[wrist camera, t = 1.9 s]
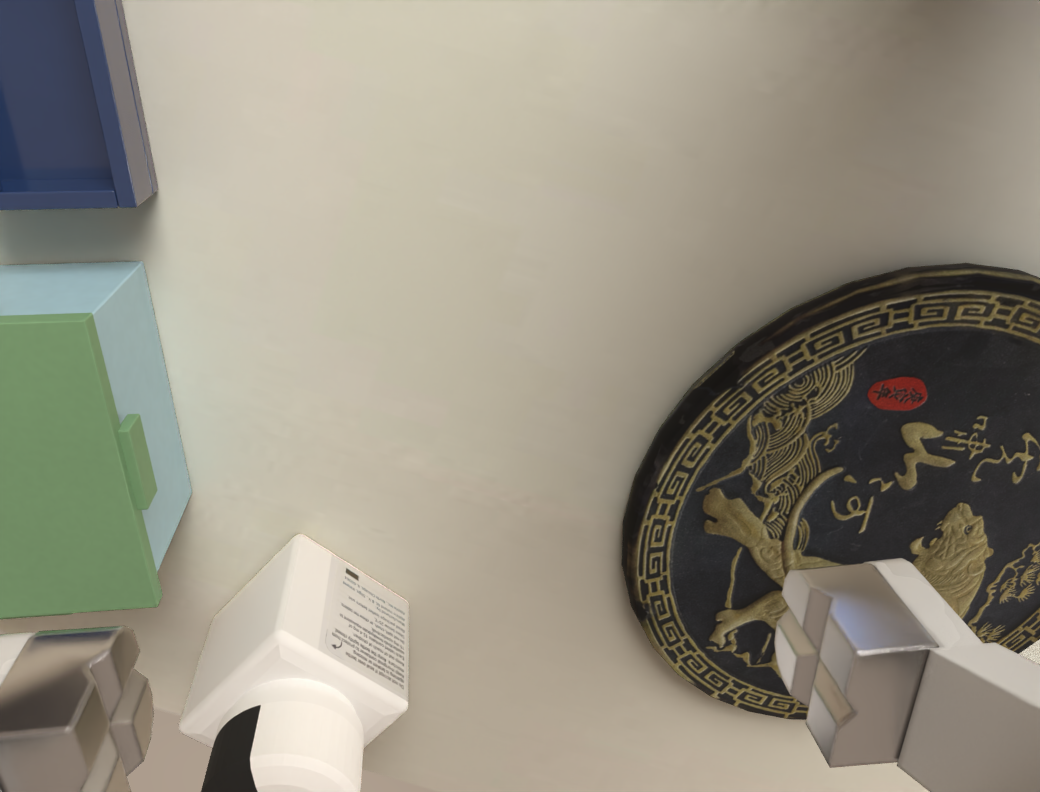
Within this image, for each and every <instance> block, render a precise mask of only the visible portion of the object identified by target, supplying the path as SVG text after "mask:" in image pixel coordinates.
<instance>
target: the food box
mask: <svg viewBox="0 0 1040 792" xmlns="http://www.w3.org/2000/svg"><path fill="white" fill-rule="evenodd" d="M191 494H192V489H191V485H190V480H189V475H188V470H187V466H186V461H185V456H184V452H183V447H182V442H181V437H180V433H179V428H178V423H177V419H176V414H175V409H174V404H173V400H172V395H171V390H170V386H169V381H168V376H167V371H166V367H165V362H164V357H163V353H162V348H161V343H160V338H159V334H158V329H157V324H156V320H155V315H154V310H153V305H152V301H151V296H150V291H149V287H148V282H147V277H146V272H145V268H144V263H143V262H142V261H133V262H96V263H60V264H24V265H0V619H11V618H26V617H40V616H54V615H68V614H73V613H81V612H95V611H109V610H124V609H138V608H152V607H158V605H159V602H160V600H161V597H162V595H163V594H162V590H161V586H160V582H159V578H158V574H157V572H158V570H159V567H160V565H161V563H162V560H163V558H164V556H165V554H166V551H167V549H168V547H169V544H170V542H171V540H172V537H173V535H174V533H175V531H176V528H177V526H178V524H179V521H180V519H181V517H182V514H183V512H184V510H185V508H186V505H187V503H188V501H189V498H190V496H191Z"/></svg>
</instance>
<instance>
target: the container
mask: <svg viewBox="0 0 1040 792" xmlns="http://www.w3.org/2000/svg"><path fill="white" fill-rule="evenodd" d="M408 688H409V603H408V601H407V600H406V599H404V598H402V597H401V596H399V595H398V594H396V593H395V592H393V591H392V590H390V589H388V588H387V587H385V586H384V585H382V584H381V583H379V582H377V581H376V580H374V579H373V578H371V577H370V576H368V575H366V574H365V573H363V572H362V571H360V570H359V569H357V568H356V567H354V566H352V565H351V564H349V563H348V562H346V561H345V560H343V559H341V558H340V557H338V556H337V555H335V554H334V553H332V552H331V551H329V550H327V549H326V548H324V547H323V546H321V545H320V544H318V543H316V542H315V541H313V540H312V539H310V538H309V537H307V536H305V535H303V534H297V535H295V536H294V537H293V538H292V539H291V540H290V541H289V542H288V543H287V544H286V545H285V546H284V547H283V548H282V549H281V550H280V551H279V552H278V553H277V554H276V555H275V556H274V557H273V558H272V559H271V560H270V561H269V562H268V563H267V564H266V565H265V566H264V567H263V568H262V569H261V570H260V571H259V572H258V573H257V574H256V575H255V576H254V577H253V578H252V579H251V580H250V581H249V582H248V583H247V584H246V585H245V586H244V587H243V588H242V589H241V590H240V591H239V592H238V593H237V594H236V595H235V596H234V597H233V598H232V599H231V600H230V601H229V602H228V603H227V604H226V605H225V606H224V607H223V608H222V609H221V610H220V611H219V612H218V613H217V614H216V615H215V616H214V618H213V619H212V621H211V624H210V628H209V631H208V634H207V637H206V640H205V643H204V646H203V650H202V653H201V656H200V659H199V662H198V665H197V669H196V672H195V675H194V678H193V681H192V684H191V687H190V691H189V694H188V697H187V700H186V703H185V706H184V710H183V713H182V716H181V719H180V722H179V731H180V732H181V733H183V734H184V735H186V736H188V737H190V738H192V739H194V740H196V741H198V742H200V743H203V744H205V745H206V746H209V747H211V748H213V749H212V752H211V756H210V760H209V764H208V767H207V771H206V775H205V779H204V783H203V786H202V791H201V792H361V777H362V762H363V748H364V747H365V746H367V745H368V744H369V743H370V742H371V741H372V740H373V739H375V738H376V737H377V736H378V735H379V734H380V733H382V732H383V731H384V730H385V729H386V728H387V727H388V726H390V725H391V724H392V723H393V722H394V721H395V720H397V719H398V718H399V717H400V716H401V715H402V714H403V713H405V712H406V710H407V708H408Z"/></svg>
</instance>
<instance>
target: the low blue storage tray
mask: <svg viewBox="0 0 1040 792" xmlns="http://www.w3.org/2000/svg"><path fill="white" fill-rule="evenodd" d="M157 190H158V186H157V181H156V176H155V170H154V165H153V160H152V155H151V150H150V145H149V140H148V135H147V129H146V124H145V119H144V114H143V109H142V104H141V99H140V94H139V88H138V83H137V78H136V73H135V68H134V63H133V58H132V53H131V47H130V42H129V37H128V32H127V27H126V22H125V17H124V12H123V6H122V1H121V0H0V211H2V210H50V209H98V208H118V207H120V208H136V207H138V206H139V205H140V204H141V203H143V202H144V201H145V200H146V199H148V198H149V197H150V196H151V195H152V194H154V193H155V192H156V191H157Z"/></svg>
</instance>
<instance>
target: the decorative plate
mask: <svg viewBox="0 0 1040 792" xmlns="http://www.w3.org/2000/svg"><path fill="white" fill-rule="evenodd" d="M897 558H902V559H905V560H907V561H909V562H910V563H912V564H913V565H914V566H915V567H916V569H917V570H918V571H919V572H920V573H921V574H922V575H923V576H924V578H925V579H926V580H927V581H928V582H929V583H930V584H931V585H932V587H933V588H934V589H935V590H936V591H937V592H938V593H939V594H940V596H941V597H942V598H943V599H944V600H945V601H946V602H947V603H948V604H949V606H950V607H951V608H952V609H953V610H954V611H955V612H956V613H957V615H958V616H959V617H960V618H961V619H962V620H963V621H964V622H965V624H966V625H967V626H968V627H969V628H970V629H971V630H972V631H973V633H974V634H975V635H976V636H977V637H978V638H979V639H980V640H981V642H982V643H983V644H984V643H997V644H999V645H1001V646H1003V647H1005V648H1007V649H1009V650H1011V651H1013V652H1015V653H1017V654H1019V653H1020V652H1022V651H1023V650H1025V649H1026V648H1028V647H1029V646H1030V645H1032V644H1033V643H1035V642H1036V641H1037V640H1039V639H1040V278H1038V277H1036V276H1033V275H1030V274H1028V273H1025V272H1023V271H1020V270H1013V269H1006V268H998V267H991V266H983V265H976V264H968V263H962V264H948V265H935V266H921V267H907V268H904V269H900V270H896V271H892V272H888V273H885V274H881V275H877V276H873V277H869V278H865V279H862V280H858V281H854V282H850V283H847V284H845V285H842V286H840V287H838V288H836V289H833V290H831V291H829V292H827V293H824V294H822V295H820V296H818V297H816V298H813V299H811V300H809V301H807V302H804V303H802V304H800V305H798V306H796V307H793V308H791V309H789V310H788V311H786V312H785V313H783V314H782V315H780V316H779V317H777V318H775V319H774V320H772V321H771V322H769V323H768V324H766V325H765V326H763V327H762V328H760V329H759V330H757V331H756V332H754V333H753V334H751V335H750V336H748V337H747V338H745V339H744V340H742V341H741V342H739V343H738V344H737V345H735V346H734V347H733V348H732V349H731V350H730V351H729V352H728V353H727V354H726V355H725V356H724V357H722V358H721V359H720V360H719V361H718V362H717V363H716V364H715V365H714V366H713V367H712V368H711V369H709V370H708V371H707V372H706V373H705V374H704V375H703V376H702V377H701V378H700V379H699V380H697V381H696V382H695V383H694V384H693V385H692V387H691V388H690V389H689V391H688V392H687V393H686V395H685V396H684V397H683V398H682V400H681V401H680V402H679V404H678V405H677V406H676V408H675V409H674V410H673V411H672V413H671V414H670V415H669V417H668V418H667V419H666V421H665V422H664V423H663V424H662V426H661V427H660V428H659V430H658V432H657V434H656V436H655V438H654V440H653V442H652V444H651V446H650V448H649V450H648V452H647V454H646V456H645V458H644V460H643V462H642V464H641V466H640V468H639V470H638V471H637V473H636V476H635V479H634V483H633V486H632V490H631V494H630V498H629V501H628V505H627V509H626V513H625V516H624V520H623V541H622V567H623V572H624V576H625V581H626V585H627V590H628V594H629V599H630V603H631V606H632V608H633V610H634V612H635V614H636V616H637V618H638V620H639V622H640V624H641V626H642V628H643V629H644V631H645V633H646V635H647V637H648V639H649V641H650V643H651V644H652V646H653V648H654V649H655V650H656V651H657V652H658V653H659V654H660V655H661V657H662V658H663V659H664V660H665V661H666V662H667V663H668V664H669V665H670V666H671V667H672V668H673V670H674V671H675V672H676V673H677V674H678V675H679V676H681V677H682V678H684V679H685V680H687V681H688V682H690V683H691V684H693V685H694V686H696V687H697V688H699V689H700V690H702V691H703V692H705V693H706V694H708V695H709V696H711V697H713V698H716V699H718V700H721V701H723V702H726V703H729V704H731V705H734V706H736V707H739V708H742V709H744V710H747V711H750V712H755V713H760V714H765V715H770V716H776V717H781V718H786V719H805V720H806V719H807V714H808V709H809V707H807V706H806V705H804V704H803V703H801V702H800V701H798V700H797V699H795V698H794V697H792V696H791V695H790V693H789V692H788V690H787V688H786V686H785V684H784V682H783V680H782V677H781V674H780V671H779V668H778V665H777V660H776V652H775V644H774V641H775V633H776V625H777V621H778V620H779V619H780V618H781V617H782V616H783V615H784V614H785V613H786V611H787V610H788V609H789V606H788V604H787V603H786V601H785V600H784V598H783V596H782V590H783V584H784V579H785V577H786V576H787V574H788V572H789V571H790V570H792V569H803V568H814V567H825V566H836V565H847V564H858V563H864V562H869V561H879V560H888V559H897Z"/></svg>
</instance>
